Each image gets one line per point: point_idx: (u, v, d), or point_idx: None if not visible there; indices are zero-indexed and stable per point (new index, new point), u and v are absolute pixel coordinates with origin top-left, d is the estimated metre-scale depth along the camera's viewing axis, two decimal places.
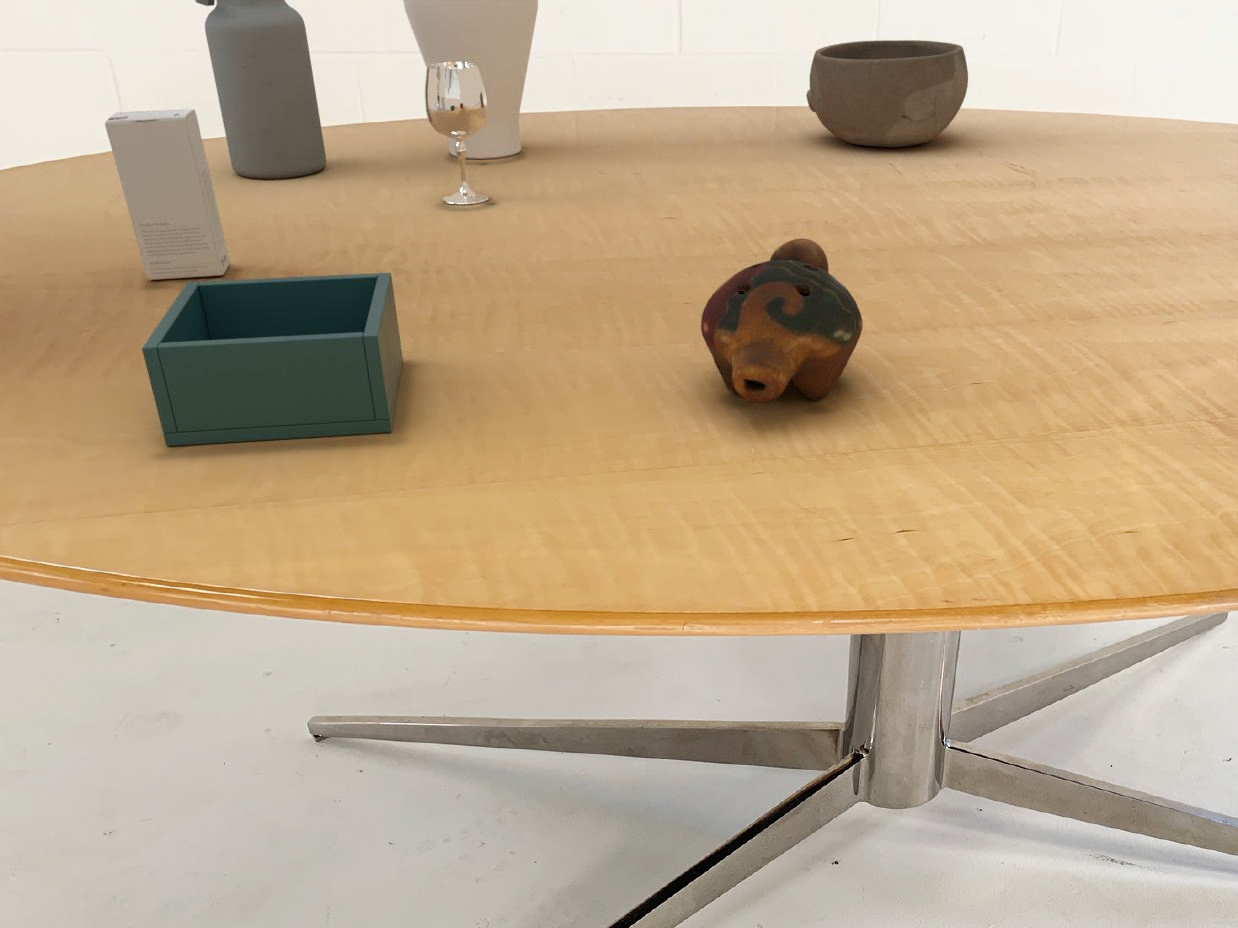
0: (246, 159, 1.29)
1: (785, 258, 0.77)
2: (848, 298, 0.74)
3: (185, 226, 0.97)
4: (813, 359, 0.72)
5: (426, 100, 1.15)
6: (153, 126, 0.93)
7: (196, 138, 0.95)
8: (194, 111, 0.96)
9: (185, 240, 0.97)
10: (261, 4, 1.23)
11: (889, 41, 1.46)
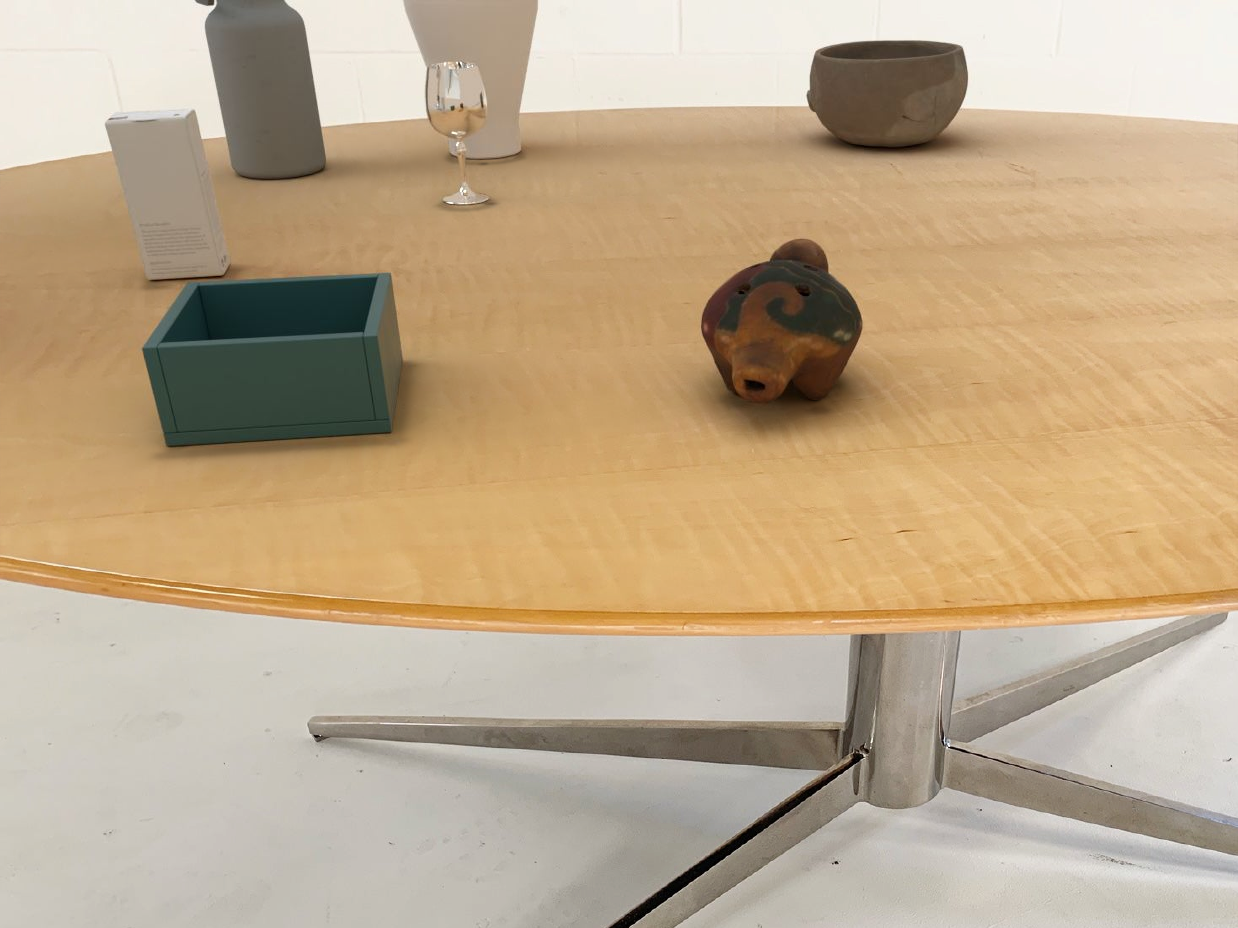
0: (246, 159, 1.29)
1: (785, 258, 0.77)
2: (848, 298, 0.74)
3: (185, 226, 0.97)
4: (813, 359, 0.72)
5: (426, 100, 1.15)
6: (153, 126, 0.93)
7: (196, 138, 0.95)
8: (194, 111, 0.96)
9: (185, 240, 0.97)
10: (261, 4, 1.23)
11: (889, 41, 1.46)
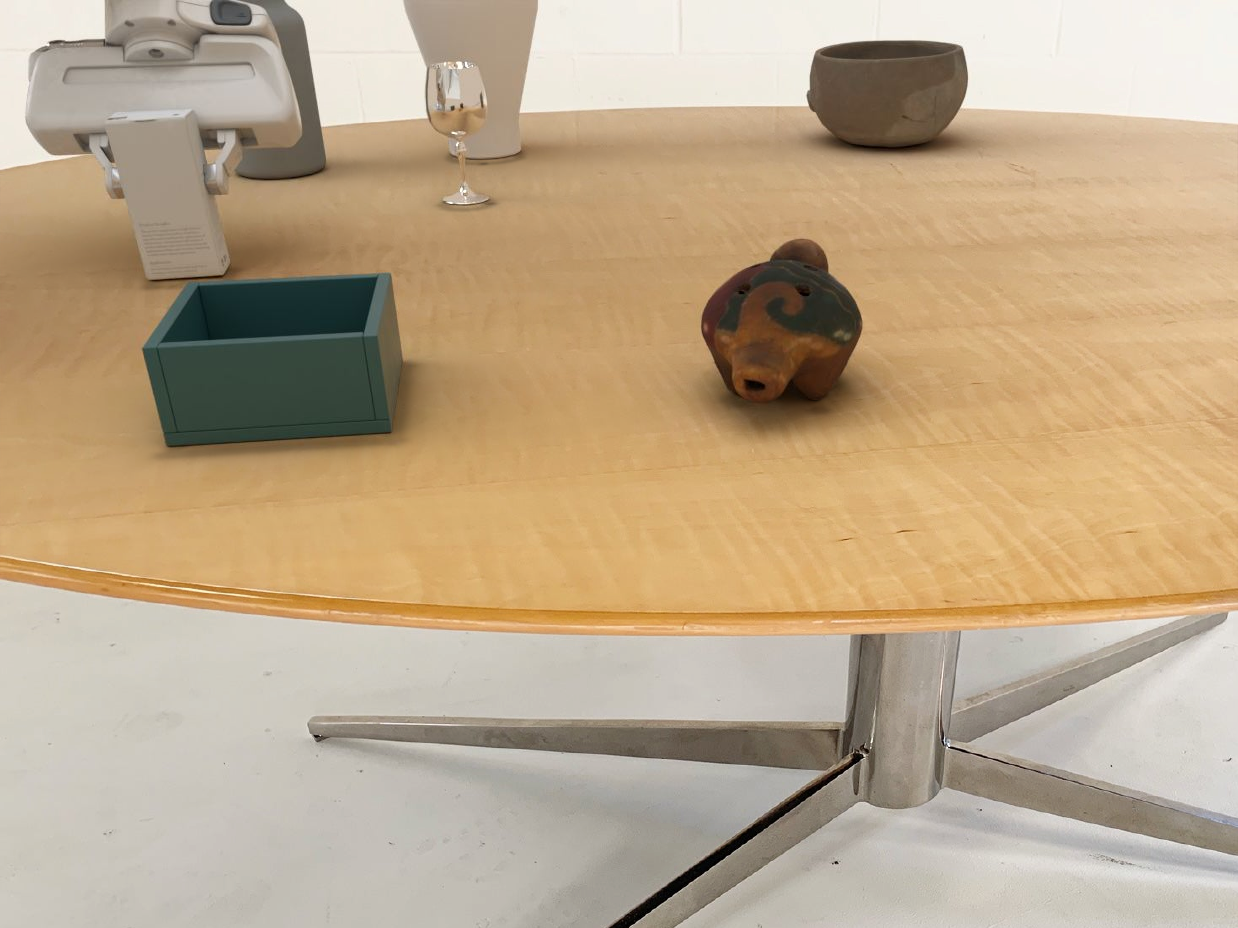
0: (246, 159, 1.29)
1: (785, 258, 0.77)
2: (848, 298, 0.74)
3: (185, 226, 0.97)
4: (813, 359, 0.72)
5: (426, 100, 1.15)
6: (152, 126, 0.93)
7: (196, 138, 0.95)
8: (193, 111, 0.96)
9: (185, 240, 0.97)
10: (261, 4, 1.23)
11: (889, 41, 1.46)
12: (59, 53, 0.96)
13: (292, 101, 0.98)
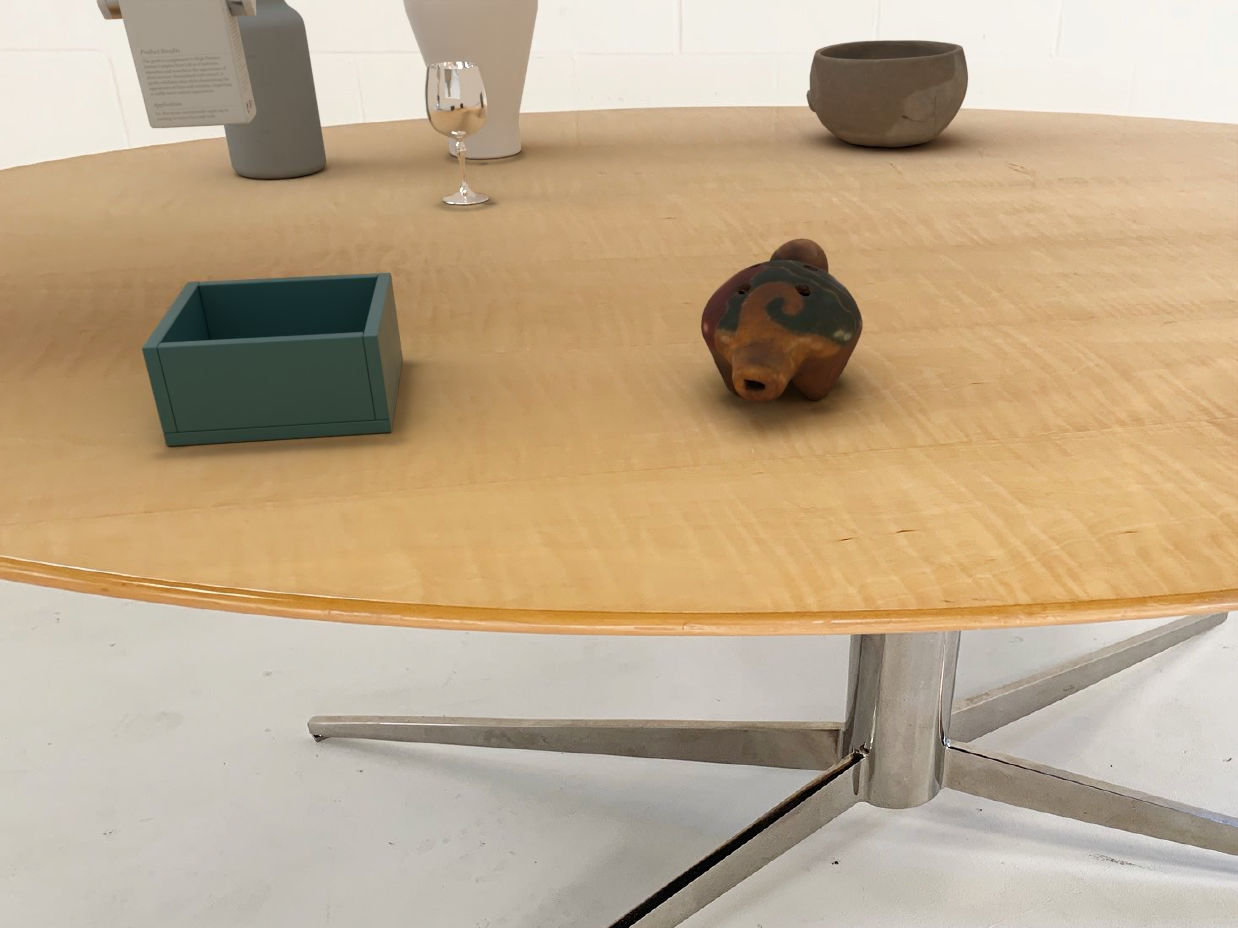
0: (246, 159, 1.29)
1: (785, 258, 0.77)
2: (848, 298, 0.74)
3: (199, 54, 0.74)
4: (813, 359, 0.72)
5: (426, 100, 1.15)
6: None
7: None
8: None
9: (199, 74, 0.75)
10: (261, 4, 1.23)
11: (889, 41, 1.46)
12: None
13: None
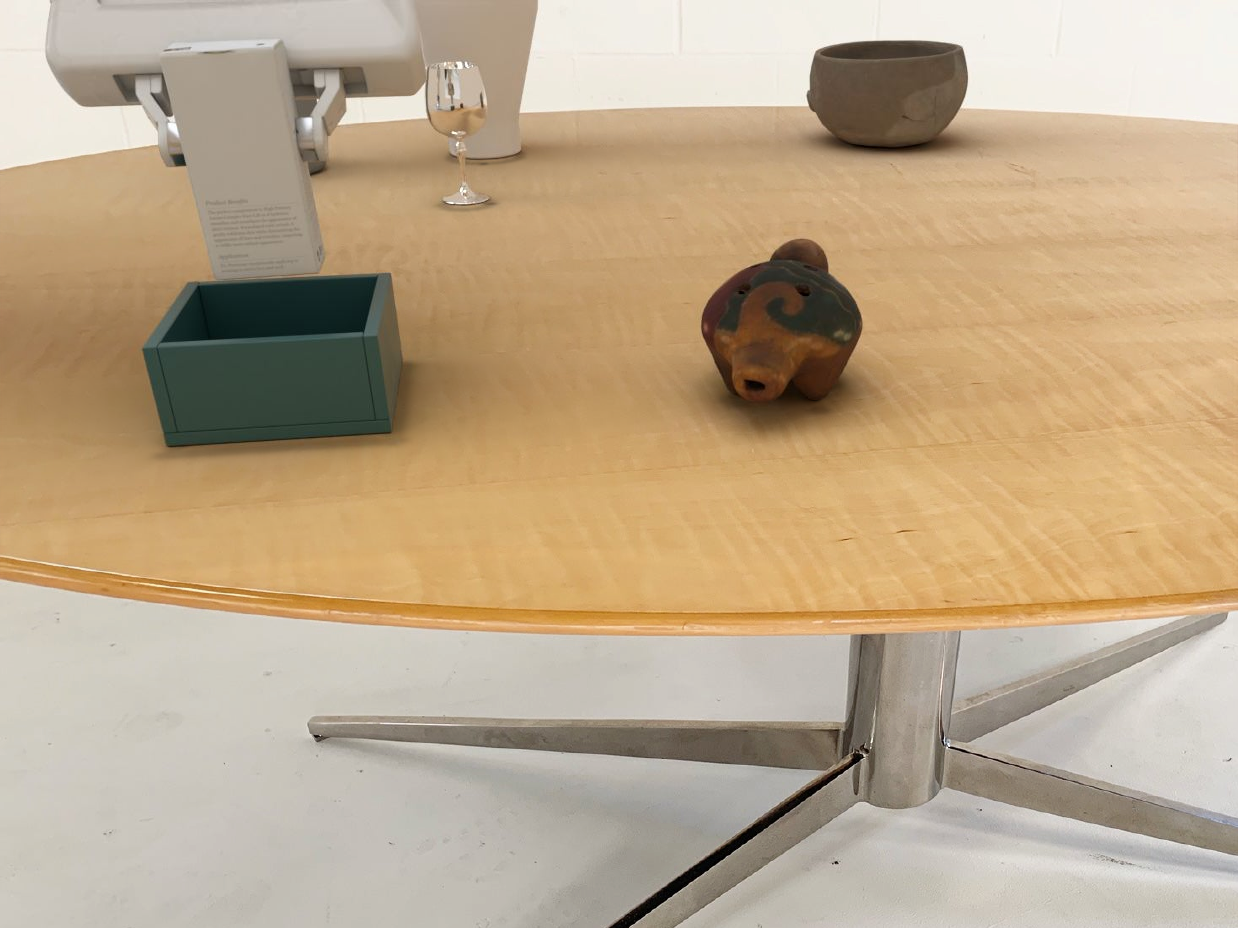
0: None
1: (785, 258, 0.77)
2: (848, 298, 0.74)
3: (269, 205, 0.69)
4: (813, 359, 0.72)
5: (426, 100, 1.15)
6: (227, 60, 0.65)
7: (286, 80, 0.68)
8: (282, 42, 0.68)
9: (269, 225, 0.69)
10: None
11: (889, 41, 1.46)
12: None
13: (418, 30, 0.70)
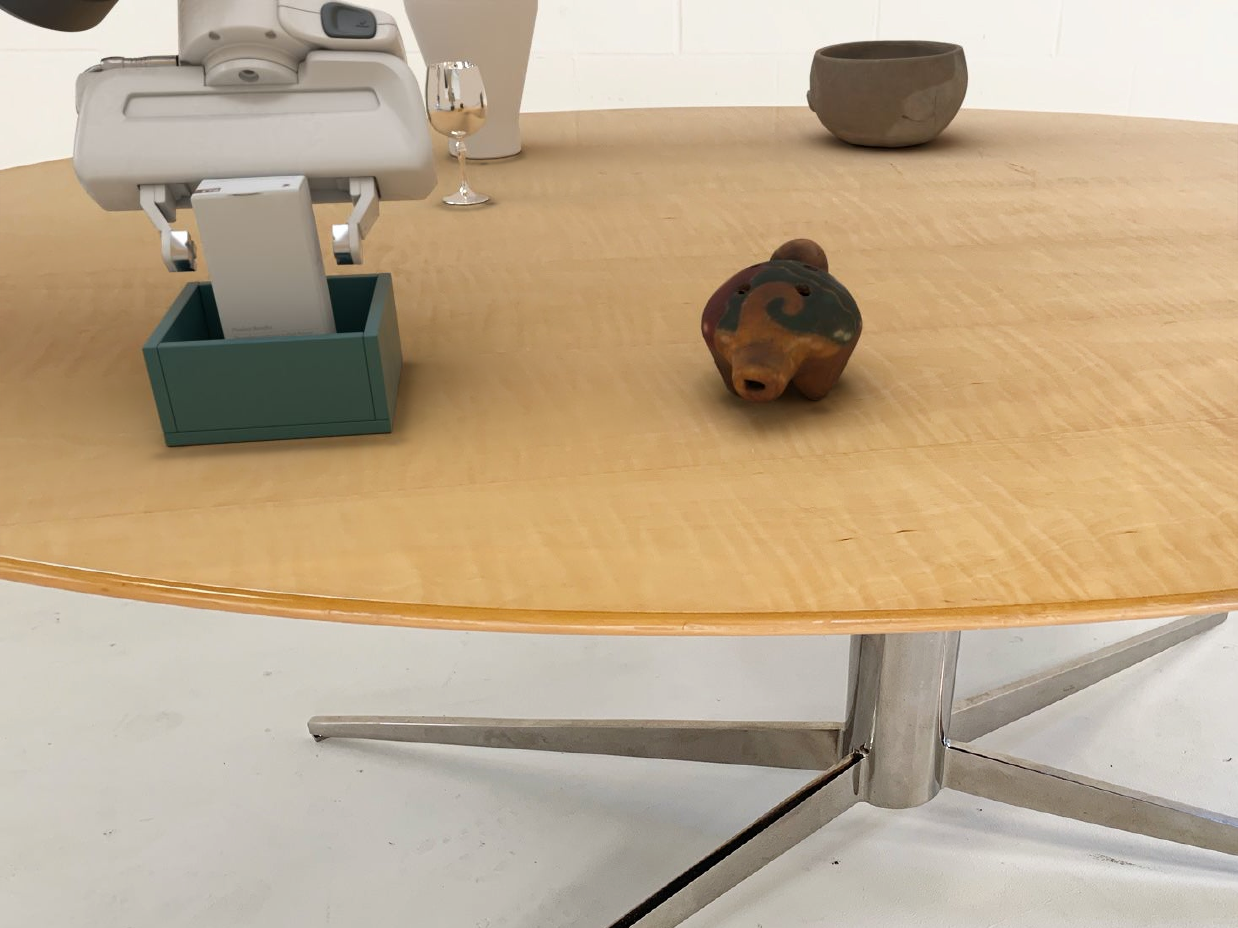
0: None
1: (785, 258, 0.77)
2: (848, 298, 0.74)
3: (292, 331, 0.73)
4: (813, 359, 0.72)
5: (426, 100, 1.15)
6: (255, 202, 0.68)
7: (309, 214, 0.71)
8: (306, 178, 0.72)
9: None
10: None
11: (889, 41, 1.46)
12: (118, 75, 0.72)
13: (430, 140, 0.73)
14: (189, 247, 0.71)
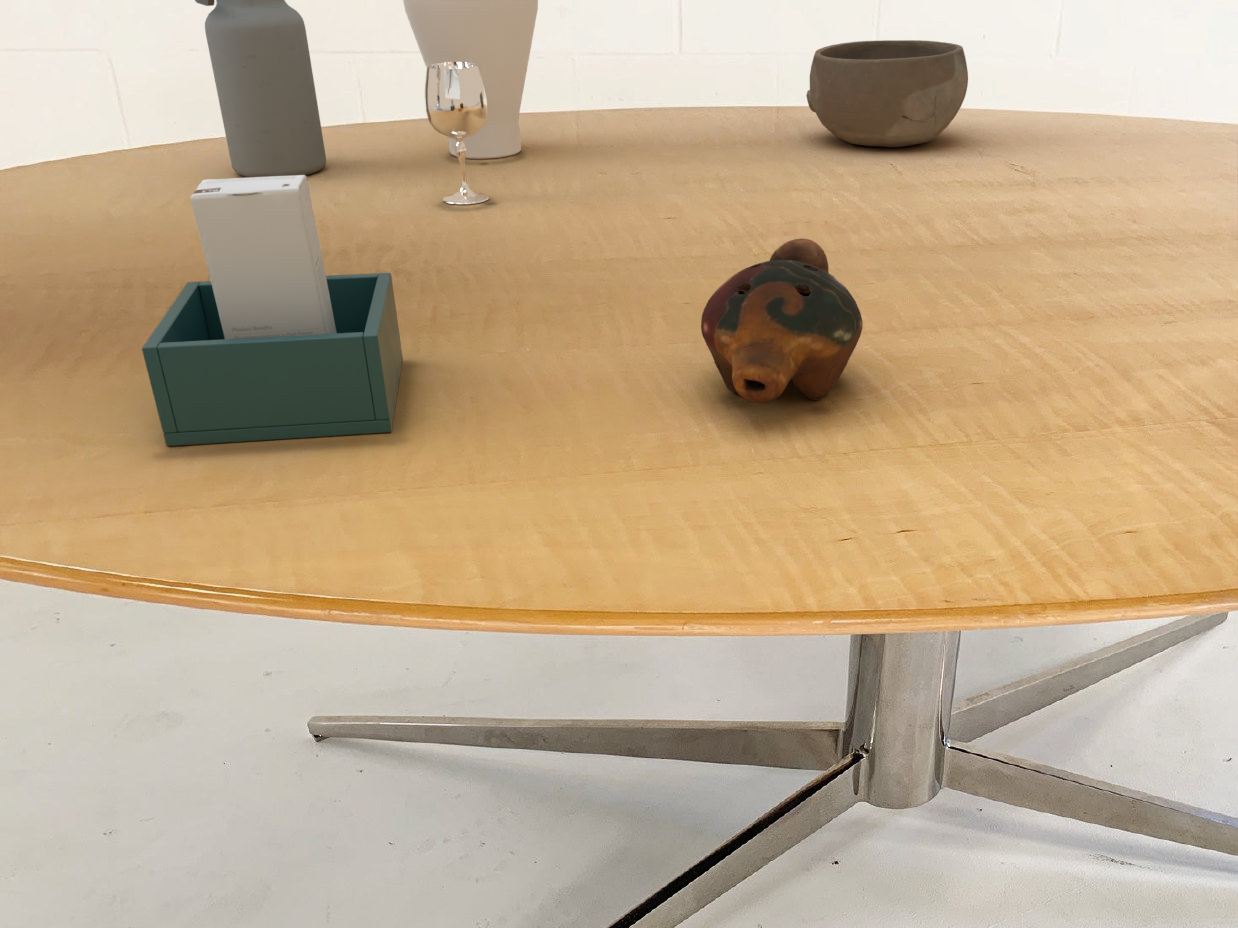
0: (246, 159, 1.29)
1: (785, 258, 0.77)
2: (848, 298, 0.74)
3: (292, 330, 0.73)
4: (813, 359, 0.72)
5: (426, 100, 1.15)
6: (255, 202, 0.68)
7: (309, 214, 0.71)
8: (306, 178, 0.72)
9: None
10: (261, 4, 1.23)
11: (889, 41, 1.46)
12: None
13: None
14: None
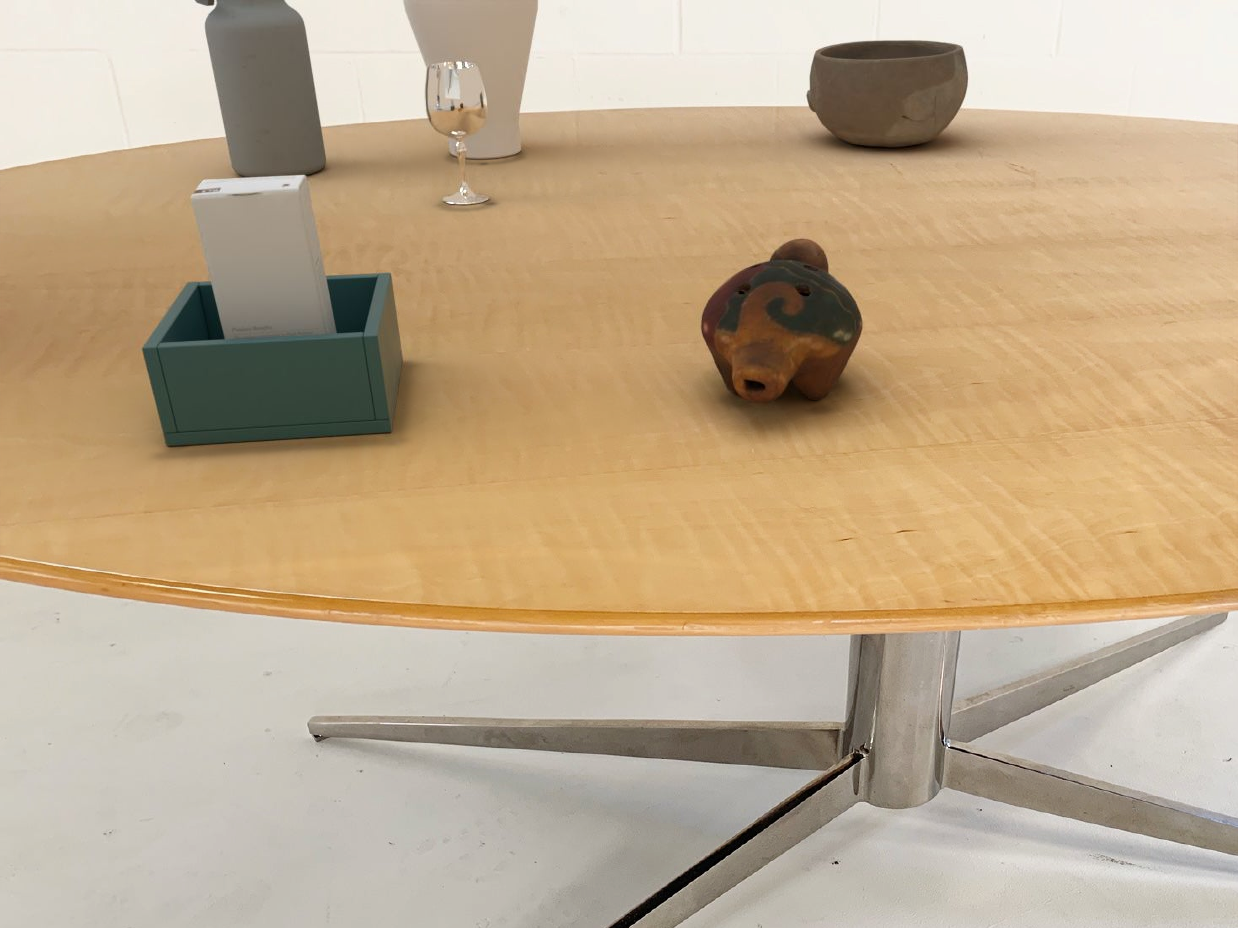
0: (246, 159, 1.29)
1: (785, 258, 0.77)
2: (848, 298, 0.74)
3: (292, 330, 0.73)
4: (813, 359, 0.72)
5: (426, 100, 1.15)
6: (255, 202, 0.68)
7: (309, 214, 0.71)
8: (306, 178, 0.72)
9: None
10: (261, 4, 1.23)
11: (889, 41, 1.46)
12: None
13: None
14: None
